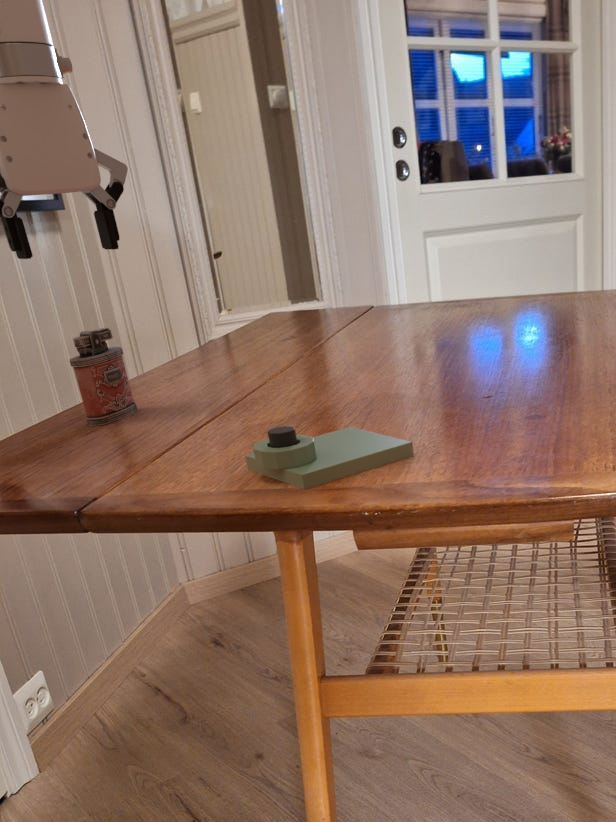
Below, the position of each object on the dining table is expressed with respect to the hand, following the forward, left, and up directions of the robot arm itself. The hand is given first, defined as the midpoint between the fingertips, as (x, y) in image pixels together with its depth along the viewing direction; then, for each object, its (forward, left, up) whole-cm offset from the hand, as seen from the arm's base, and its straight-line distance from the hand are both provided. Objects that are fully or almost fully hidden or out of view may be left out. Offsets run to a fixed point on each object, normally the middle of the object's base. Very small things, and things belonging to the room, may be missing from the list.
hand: (69, 253), depth 96 cm
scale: (+5, -40, -18) cm, 44 cm away
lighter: (0, 0, -18) cm, 18 cm away
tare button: (+1, -40, -16) cm, 43 cm away
